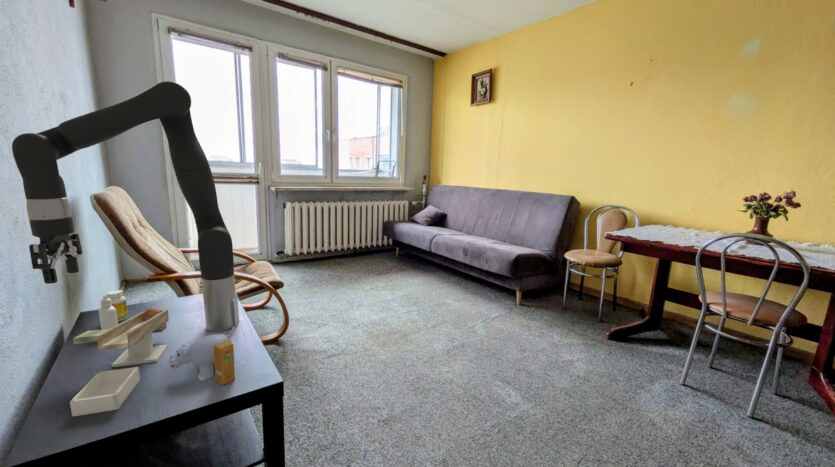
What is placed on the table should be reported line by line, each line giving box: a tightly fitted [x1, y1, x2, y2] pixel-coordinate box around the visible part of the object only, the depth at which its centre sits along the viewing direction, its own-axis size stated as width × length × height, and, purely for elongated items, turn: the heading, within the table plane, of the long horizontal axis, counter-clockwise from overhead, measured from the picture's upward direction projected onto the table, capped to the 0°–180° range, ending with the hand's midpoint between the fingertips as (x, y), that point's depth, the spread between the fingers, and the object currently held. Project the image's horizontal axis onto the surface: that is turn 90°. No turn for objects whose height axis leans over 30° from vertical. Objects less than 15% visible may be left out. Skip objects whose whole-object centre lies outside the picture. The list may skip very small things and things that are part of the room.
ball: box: [143, 307, 161, 320], centre depth 103 cm, size 4×4×4 cm
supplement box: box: [214, 340, 236, 386], centre depth 85 cm, size 3×3×10 cm
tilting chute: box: [73, 309, 169, 351], centre depth 93 cm, size 13×24×6 cm, turn 18°
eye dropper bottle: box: [98, 294, 119, 330], centre depth 107 cm, size 4×6×12 cm
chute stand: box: [111, 333, 169, 368], centre depth 95 cm, size 10×8×6 cm
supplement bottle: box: [106, 289, 129, 322], centre depth 116 cm, size 5×5×10 cm
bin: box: [69, 366, 141, 418], centre depth 79 cm, size 8×11×4 cm
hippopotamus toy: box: [168, 327, 236, 381], centre depth 90 cm, size 11×15×10 cm
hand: (63, 277), depth 90 cm, fingers open, 8 cm apart
